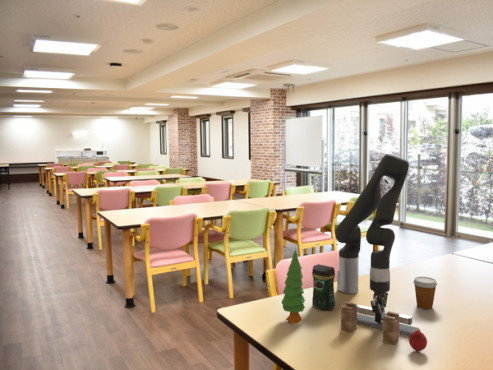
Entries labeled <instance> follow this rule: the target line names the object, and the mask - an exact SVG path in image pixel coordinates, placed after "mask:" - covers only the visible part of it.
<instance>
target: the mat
mask: <svg viewBox="0 0 493 370" xmlns="http://www.w3.org/2000/svg"><path fill="white" fill-rule="evenodd" d="M358 324H359V325H363V326H366V327H370V328H374V329H379V330H382V331H383V320H381V322H380V323H378V322H375V317H374V316H369V315H365V314H361V313H357V325H358ZM417 329H420V327H416V326H412V325H407V324H403V323H399V335H401V336H406V337H410V335H411V334H412V333H413V332H415V331H416V330H417Z"/></svg>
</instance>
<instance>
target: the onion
mask: <svg viewBox="0 0 493 370" xmlns="http://www.w3.org/2000/svg"><path fill="white" fill-rule="evenodd" d="M408 337H409V338H408V344H409V346H410V347H411V349H412V350H413V351H414V352H417V353H419V352H421V351H423V350H425V349H426V348H427V346H428V340H427V337H426V335H425V334H424V333H423V332H421V329H420V328H419V329H417V330H416V331H415V332H413V333H412V334H411V335H410V336H408Z"/></svg>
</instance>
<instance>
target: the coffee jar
mask: <svg viewBox="0 0 493 370" xmlns="http://www.w3.org/2000/svg"><path fill="white" fill-rule="evenodd" d="M311 275H312V276H311V277H312V280H313V281H312V282H313V287H312V300H311V304H312V307H314V308H317V309H320V310H324V311H329V310H333V309H334V308H335V307H336V297H335V287H334V281H335V278H336V271H335V267H334V266H328V265H325V264H320V263H318V264H315V265H313V267H312V272H311Z"/></svg>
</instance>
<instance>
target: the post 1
mask: <svg viewBox="0 0 493 370" xmlns="http://www.w3.org/2000/svg"><path fill="white" fill-rule="evenodd" d="M357 305H358V304H357V303H355V302H349V301H346V302H345V305H341V306H340V332H344V333H347V334H352V333H353V332H354V331H355V330H356V329H357V328H358V323H357Z"/></svg>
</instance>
